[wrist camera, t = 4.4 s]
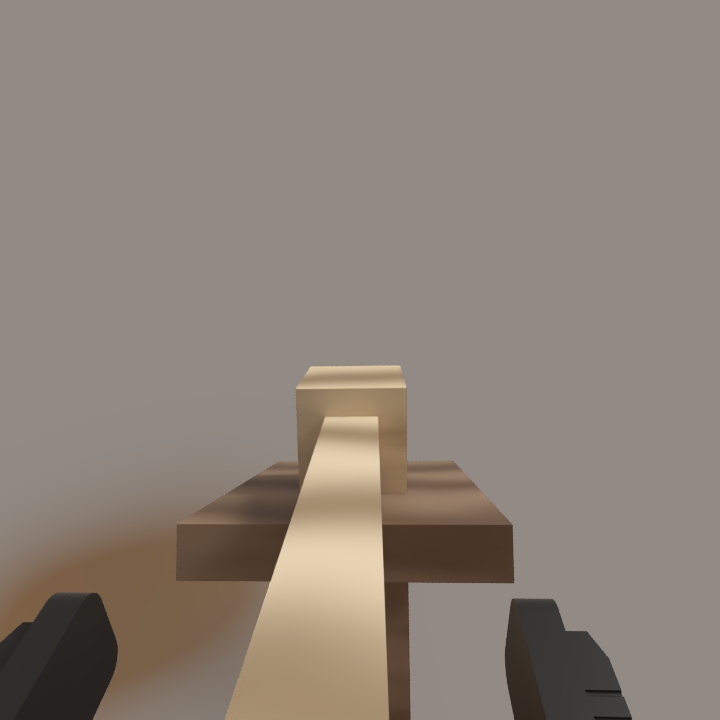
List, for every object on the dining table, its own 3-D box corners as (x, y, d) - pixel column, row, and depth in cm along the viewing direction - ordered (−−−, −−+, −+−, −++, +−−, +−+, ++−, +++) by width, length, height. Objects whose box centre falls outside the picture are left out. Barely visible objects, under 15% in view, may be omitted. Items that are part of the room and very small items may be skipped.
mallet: (313, 452, 31) (310, 366, 31) (400, 451, 31) (399, 365, 30) (128, 1007, 8) (96, 688, 7) (487, 1013, 8) (495, 689, 7)
